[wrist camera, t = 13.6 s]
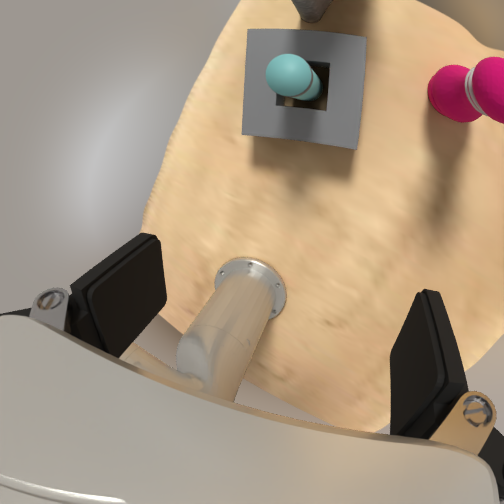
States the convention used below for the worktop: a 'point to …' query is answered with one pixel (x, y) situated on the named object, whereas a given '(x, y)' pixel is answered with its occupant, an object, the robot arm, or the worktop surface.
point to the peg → (293, 78)
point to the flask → (311, 9)
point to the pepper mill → (469, 91)
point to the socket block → (302, 119)
